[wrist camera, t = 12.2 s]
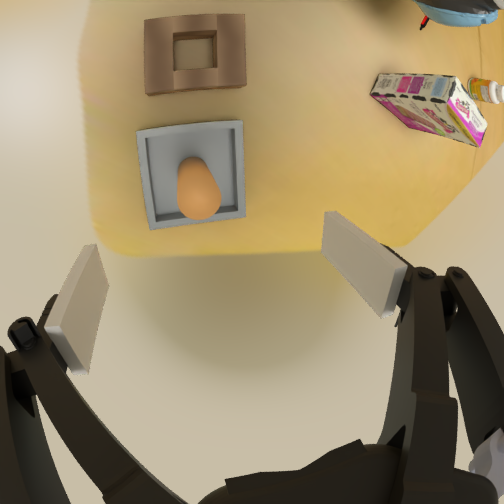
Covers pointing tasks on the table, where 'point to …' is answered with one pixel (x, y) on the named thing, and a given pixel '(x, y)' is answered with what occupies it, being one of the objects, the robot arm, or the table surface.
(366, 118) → the table surface
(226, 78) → the hitch block
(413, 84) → the candy bar box
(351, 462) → the robot arm
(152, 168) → the tray
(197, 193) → the pin
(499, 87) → the supplement bottle
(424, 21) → the pen
